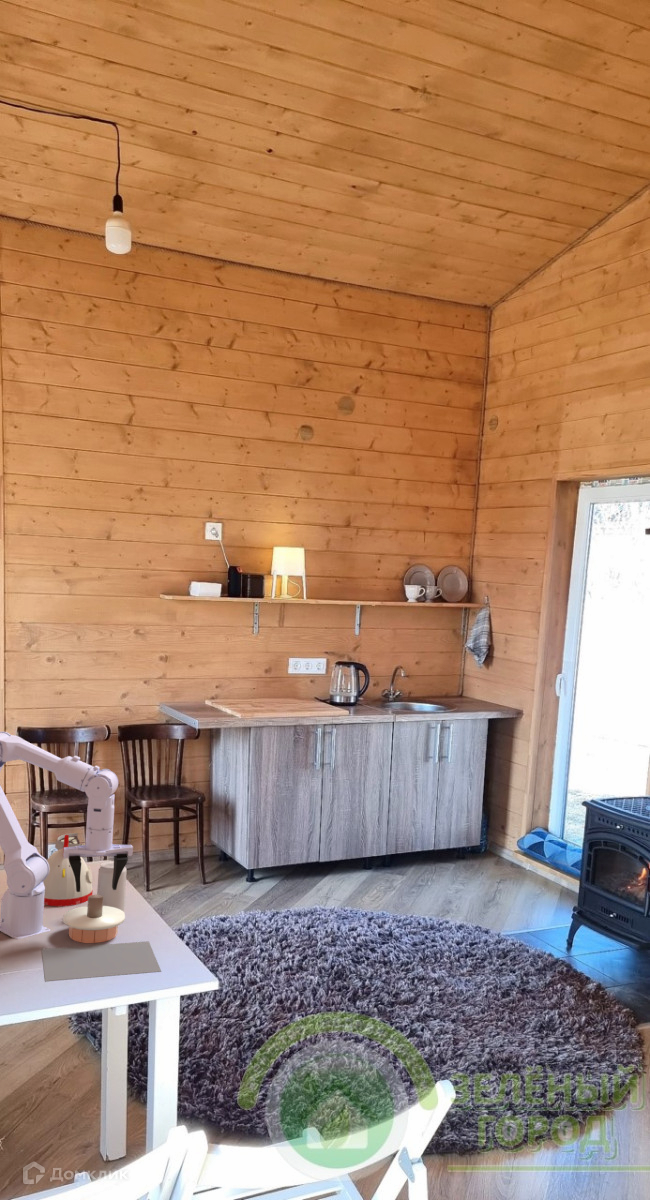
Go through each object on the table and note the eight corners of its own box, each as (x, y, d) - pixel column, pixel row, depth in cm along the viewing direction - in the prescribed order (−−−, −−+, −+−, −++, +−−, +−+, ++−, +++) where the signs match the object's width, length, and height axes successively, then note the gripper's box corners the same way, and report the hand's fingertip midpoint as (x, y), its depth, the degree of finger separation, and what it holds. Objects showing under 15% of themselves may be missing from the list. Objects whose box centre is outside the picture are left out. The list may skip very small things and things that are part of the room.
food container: (51, 870, 238) (53, 833, 238) (75, 869, 240) (77, 832, 240) (54, 884, 226) (57, 845, 226) (79, 883, 228) (82, 844, 229)
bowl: (59, 939, 191) (60, 920, 191) (91, 925, 200) (92, 908, 200) (94, 950, 186) (95, 930, 186) (126, 935, 195) (127, 917, 195)
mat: (41, 951, 183) (41, 949, 183) (148, 944, 191) (148, 941, 191) (44, 984, 168) (45, 981, 168) (161, 974, 176) (161, 971, 176)
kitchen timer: (30, 907, 210) (34, 843, 210) (35, 888, 223) (39, 828, 223) (91, 905, 213) (95, 843, 213) (92, 887, 226) (96, 828, 226)
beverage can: (128, 917, 206) (131, 865, 206) (102, 922, 202) (105, 869, 202) (117, 909, 211) (120, 858, 211) (91, 913, 207) (94, 862, 207)
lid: (51, 917, 192) (52, 895, 193) (101, 905, 202) (103, 883, 202) (86, 934, 184) (87, 911, 184) (137, 920, 194) (138, 898, 194)
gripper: (66, 832, 187) (62, 897, 187) (136, 830, 192) (132, 893, 192) (64, 824, 194) (60, 886, 194) (131, 822, 199) (128, 883, 199)
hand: (96, 889), depth 193 cm, fingers open, 7 cm apart
